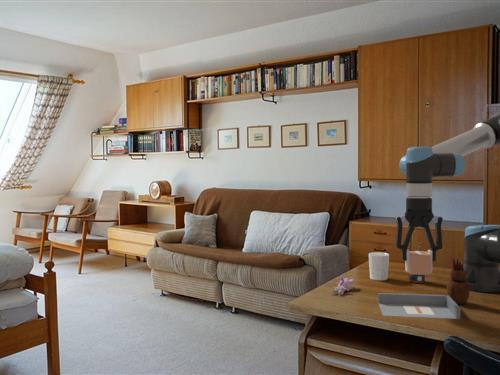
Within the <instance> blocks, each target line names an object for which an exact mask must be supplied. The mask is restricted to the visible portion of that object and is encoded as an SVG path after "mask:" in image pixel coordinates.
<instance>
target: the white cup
mask: <svg viewBox="0 0 500 375" xmlns="http://www.w3.org/2000/svg"><path fill="white" fill-rule="evenodd" d="M389 262H390V254H389V253H387V252H380V251H377V252H376V251H373V252H372V251H371V252H369V253H368V267H369V268H368V270H369V278H370V279H371V280H372V281H381V282H382V281H387V280H388V274H389V266H390V264H389Z"/></svg>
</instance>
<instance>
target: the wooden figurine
mask: <svg viewBox="0 0 500 375" xmlns="http://www.w3.org/2000/svg"><path fill="white" fill-rule="evenodd" d="M461 263H462V262H460V261H459V259H458V258H457V259H456V260H455V258H454V257H453V258H452V269H451V270H450V271H449V277H450V279H449V280H448V282H446V283H447V284H446V293H447V294H446V295H449V296H450V297H451V299H452V300H453V301H454V302H455V303H456V304H457V305H463V304H466V303H467V302H468V300H469V297H470V291H471V290H470V286H469V284H468V282H467V281H464V280H465V279H466V277H467V273H466V271H465V270H464V268H463V267H464V264H463V263H462V264H461Z"/></svg>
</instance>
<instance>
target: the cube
mask: <svg viewBox="0 0 500 375" xmlns="http://www.w3.org/2000/svg"><path fill="white" fill-rule="evenodd" d="M409 251H410V254H409V272H408V274H409V273H410V274H415V275H425V276H430V275H432V273H431V255H430V254H429V253H428V250H427V251H425V250H409Z"/></svg>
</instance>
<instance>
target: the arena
mask: <svg viewBox="0 0 500 375" xmlns="http://www.w3.org/2000/svg"><path fill="white" fill-rule="evenodd" d="M377 304H378V306H379V309H380V311H381V315H382V316H384V317H403V318H404V317H405V318H427V319H429V318H430V319H449V320H450V319H452V320H453V319H455V320H461V314H462V313H461V309H462V308H461V307H460V306H459V304H456V303H455V302H454V301H453V300H452V299H451V297H450V296H449V295H448V294H446V295H445V294H418V293H394V292H393V293H392V292H391V293H388V292H378V293H377Z"/></svg>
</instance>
